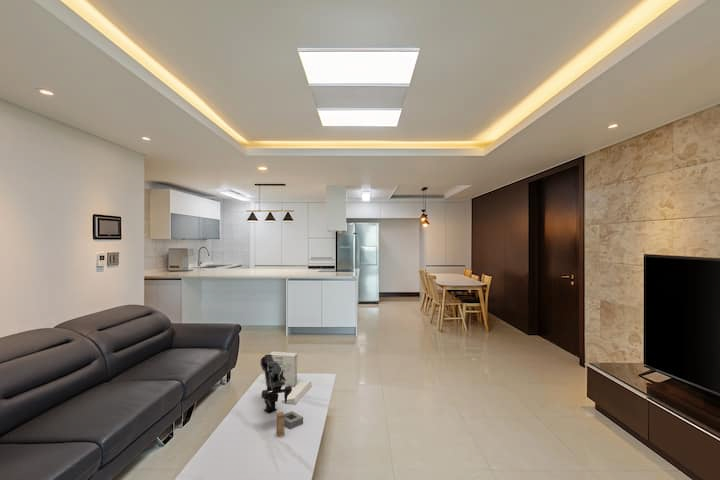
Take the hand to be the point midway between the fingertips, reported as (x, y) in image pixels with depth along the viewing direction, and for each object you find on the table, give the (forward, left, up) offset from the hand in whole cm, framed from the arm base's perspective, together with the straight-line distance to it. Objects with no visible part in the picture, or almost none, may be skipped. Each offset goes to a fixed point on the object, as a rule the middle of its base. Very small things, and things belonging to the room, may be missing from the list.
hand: (278, 405), depth 219 cm
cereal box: (-52, +46, -14) cm, 71 cm away
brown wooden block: (+7, -4, -14) cm, 16 cm away
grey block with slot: (+2, +9, -14) cm, 17 cm away
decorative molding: (-28, +41, -15) cm, 52 cm away
